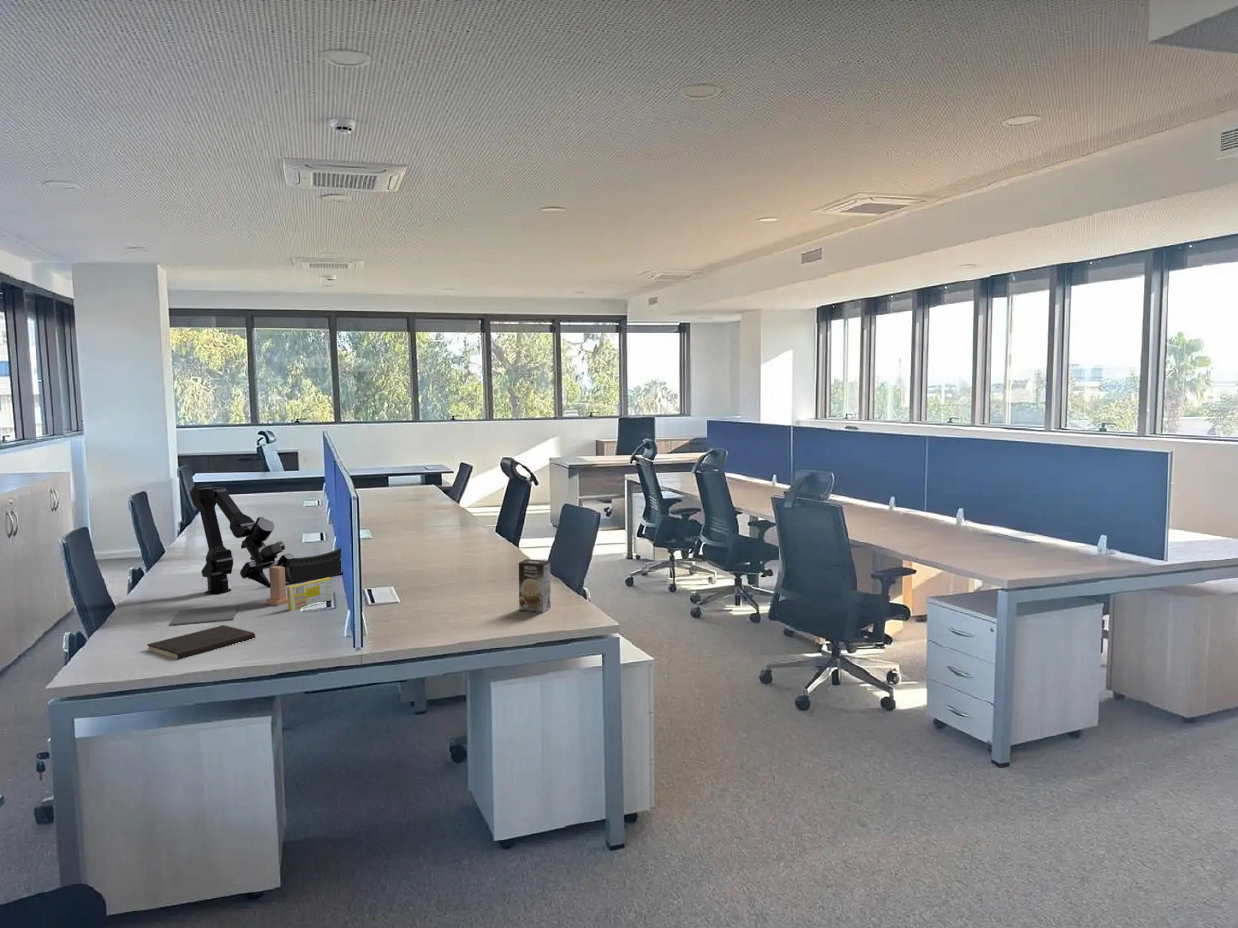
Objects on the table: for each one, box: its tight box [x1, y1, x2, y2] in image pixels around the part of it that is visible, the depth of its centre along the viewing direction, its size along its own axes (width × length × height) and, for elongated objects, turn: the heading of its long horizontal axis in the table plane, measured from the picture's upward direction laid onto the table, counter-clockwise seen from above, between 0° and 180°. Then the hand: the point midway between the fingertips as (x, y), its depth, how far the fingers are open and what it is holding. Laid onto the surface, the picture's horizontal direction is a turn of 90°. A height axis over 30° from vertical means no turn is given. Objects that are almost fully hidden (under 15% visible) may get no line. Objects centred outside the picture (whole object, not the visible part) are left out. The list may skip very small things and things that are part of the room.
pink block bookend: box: [265, 566, 288, 607], centre depth 288 cm, size 6×5×12 cm
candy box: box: [286, 577, 334, 612], centre depth 284 cm, size 16×2×8 cm, turn 144°
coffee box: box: [518, 558, 552, 613], centre depth 276 cm, size 9×6×16 cm
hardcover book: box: [146, 624, 256, 661], centre depth 241 cm, size 16×23×2 cm
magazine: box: [285, 547, 342, 583], centre depth 325 cm, size 17×3×30 cm
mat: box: [169, 604, 239, 627], centre depth 273 cm, size 18×18×1 cm
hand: (280, 584), depth 287 cm, fingers open, 8 cm apart
